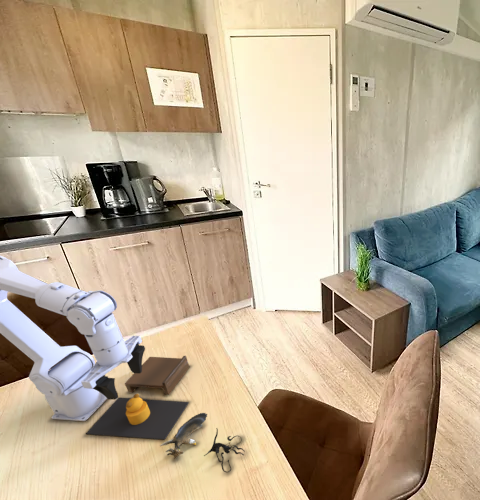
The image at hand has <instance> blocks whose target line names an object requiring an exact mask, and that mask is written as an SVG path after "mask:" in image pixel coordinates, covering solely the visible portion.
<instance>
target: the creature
mask: <svg viewBox="0 0 480 500" xmlns="http://www.w3.org/2000/svg"><path fill="white" fill-rule="evenodd" d="M218 433H219V429H218V427H216V432H215V436H214V438H213V443H212V446H211V448H210V449H209V450H208V451H207V453H205V454H204V455H203V456H204V457H206V456H207V455H208V454H210V453H212V452H214V453H215V455H216V457H217V460H218V463H221V464H220V465H221V470H222V472H224V473H230V472H231V471H232V467H231V465H230V459H227V460H226V463H227V462H228V466H229V468H230V469H229V470H228V471H226V470H225V469H224V465H223V464H224V459H225V457H224V456H223V455H224V453H225V454H230V453H231V451H232V452H234V455H239V454H240V455H242V456H245V454H244V453H246V450H245V449H243V448H242V447H238V446H237V445H239V444H240V442H243V439H242V437H241V436H240V435H238V437H240V442H237V444H234V445H231V442H232V440H234V439H235V438H236V437H237V435H234V436H231V435H228V436H227V437H226V440H227V441H228V443H227V444H224V443H222V442H217V438H218ZM220 448H222V449H223V452H221V453H220V450H221V449H220ZM234 448H236V449H234ZM236 450H237V451H236ZM240 450H241V451H243V452H244V453H242V452H241V451H240ZM218 454H220V457H221V459H220V458H219V455H218Z"/></svg>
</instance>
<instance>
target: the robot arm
mask: <svg viewBox="0 0 480 500" xmlns="http://www.w3.org/2000/svg"><path fill="white" fill-rule="evenodd" d="M8 293H12V294H14V295H15V294H16V295H20V296H23V297H26V298H31V299H34V300H35V304H36V306H37V307H40V308H42V309H45V310H48V311H50V312H53V313H56V314H59V315H62V316H65V317H66V319H67V320H68V321H69V323H70V324H72V325H73V326H75V328H76V329H77V331H78V332H79V333H80V334H81V335H84V338H85V339H86V341H87V344H88V346H89V348H90V350H91V352H92V354H93V355H92V354H90V353H89V352H87V351H85V350H83V349H81V348H80V347H79V346H78V345H65V346H61V345H59V344H58V343H57V342H56V341H55V340H53V338H51V337H50V335H48V334H47V333H45V331H44V330H43V329H41V328H40V327H39V326H38V325H37V324H36V323H35V322H33V321H32V320H31V319H30V318H29V317H28V316H27V315H26V314H24V312H22V311H21V310H20V309H19V308H18V306H16V305H15V304H14V303H12V302H11V301H10V300H9V299H8ZM117 307H118V304H117V301H116V299H115V298H114V296H112V294H110V293H108V292H106V291H104V290H88V291H85V290H82V289H80V288H76V287H74V286H71V285H69V284H66V283H63V282H60V281H54V282H51V283H47V282H46V281H43V280H40V279H38V278H36V277H34V276H31V275H29V274H27V273H25V272H23V271H21V270H19V268H18V266H17V265H16V264H15V262H14V261H12V259H9V258H7V257H5V256H3V255H0V334H1V335H2V336H3V337H4V338H5V339H6V340H7V341H9V342H10V343H11V344H12V345H14V346H15V347H16V348H17V349H18V350H20V351H21V352H22V353H23V354H24V355H26V356H27V357H28V358H29V359H30V360H32V361H33V366H32V368H31V370H30V372H29V375H28V379H29V380H30V382H32V384H33V385H34V386H35V388H36V390H37V391H39V393H41V394H42V395H44V399H45V401H46V403H47V404H48V406H49V407H50V409H51V410H52V412H53V415H52V416H51V417H50V418H51V419H52V420H61V421H77V422H86V421H88V420H89V419H90V417H91V416H93V414H94V413H95V412H96V411H97V410H98V409H99V408H100V407H101V406H102V405H103V404H104V403H105V402H106V401H107V400H112V401H114V400H115V401H116V400H117V399H118V398H119V393H118V391H117V389H116V385H115V381H116V377H109V376H108V375H107V374H108V373H109V372H111V371H112V370H115V368H117V367H119V366H120V365H122V364H127V366H128V368H129V370H130V372H131V373H132V374H134V373H141V372H142V364H143V357H144V353H145V351H146V347H145V346H144V345H143V344H142V342H143V340H142V337H141V336H140V335H132V336H131V337H130V338H128V339H126V340H125V339H124V337H123V335H122V332H121V330H120V327H119V325H118V322H117V320H116V318H115V315H114V312H115V311H116V310H117ZM140 344H142V345H140ZM93 356H94V357H93Z"/></svg>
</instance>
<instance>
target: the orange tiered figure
mask: <svg viewBox="0 0 480 500" xmlns="http://www.w3.org/2000/svg"><path fill="white" fill-rule="evenodd" d="M130 398H131V399H130V400H129V401H128V402H127V404H126V409H127V411H126V416H127V418H128V420H129V422H130V424H132V425H137V424H140V423H142V422H144V421H145V420H146V419H147V418H148V417H149V415H150V410H149V408H148V405H147V403H146V402H145V401H143V400H142V399H143V398H142V397H140V393H135V394H133V397H130Z"/></svg>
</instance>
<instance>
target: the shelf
mask: <svg viewBox="0 0 480 500" xmlns="http://www.w3.org/2000/svg"><path fill="white" fill-rule="evenodd" d="M189 369H190V365H189V360H188V358H187V356H186V355H183V356H182V357H164V356H149V357H148V358H147V359H146V360H145V361H144V362H142V372H141V373H132V375H131V376H130V377H129V378H128V379H127V380H126V381H125V382H124V386H125V388H126V390H127V392H128V393H134V391H135V390H136V389H137V388H149V389H151V388H152V389H162V391H163V393H164V395H165V396H170V395H171V393H172V391H173V390H174V389H175V388H176V387H177V385H178V384H179V382H180V381H181V379H182V378H183V377H184V375H185V374H186V372H188V370H189Z"/></svg>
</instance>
